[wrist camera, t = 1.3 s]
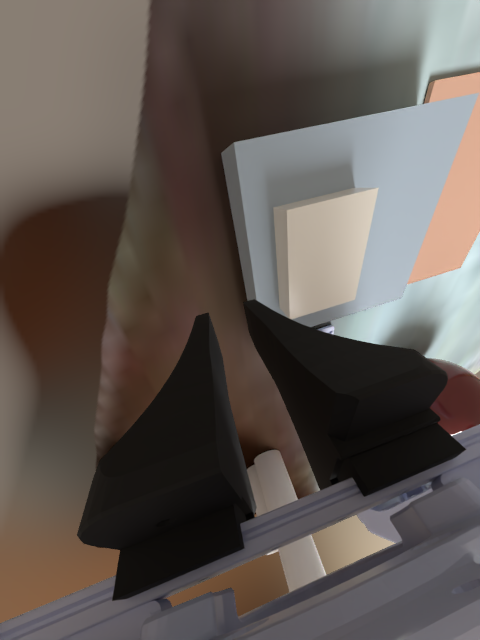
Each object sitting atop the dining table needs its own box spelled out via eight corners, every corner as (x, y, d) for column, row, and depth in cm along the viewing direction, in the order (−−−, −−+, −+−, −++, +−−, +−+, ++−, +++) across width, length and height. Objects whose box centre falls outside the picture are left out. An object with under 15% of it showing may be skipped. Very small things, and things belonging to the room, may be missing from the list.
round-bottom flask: (396, 389, 44) (519, 503, 28) (356, 390, 39) (478, 528, 23) (442, 345, 38) (632, 459, 22) (402, 339, 33) (609, 481, 17)
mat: (456, 266, 26) (460, 267, 26) (372, 292, 25) (375, 294, 25) (565, 56, 16) (573, 54, 15) (429, 82, 14) (435, 80, 14)
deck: (372, 283, 24) (401, 298, 21) (250, 320, 22) (262, 342, 19) (416, 112, 15) (479, 92, 12) (221, 153, 14) (233, 142, 10)
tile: (339, 289, 18) (355, 299, 16) (279, 307, 17) (289, 320, 16) (354, 187, 13) (378, 187, 12) (273, 207, 13) (286, 210, 11)
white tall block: (258, 451, 44) (304, 602, 28) (285, 447, 47) (340, 583, 31) (243, 474, 49) (274, 611, 33) (268, 469, 52) (307, 594, 36)
